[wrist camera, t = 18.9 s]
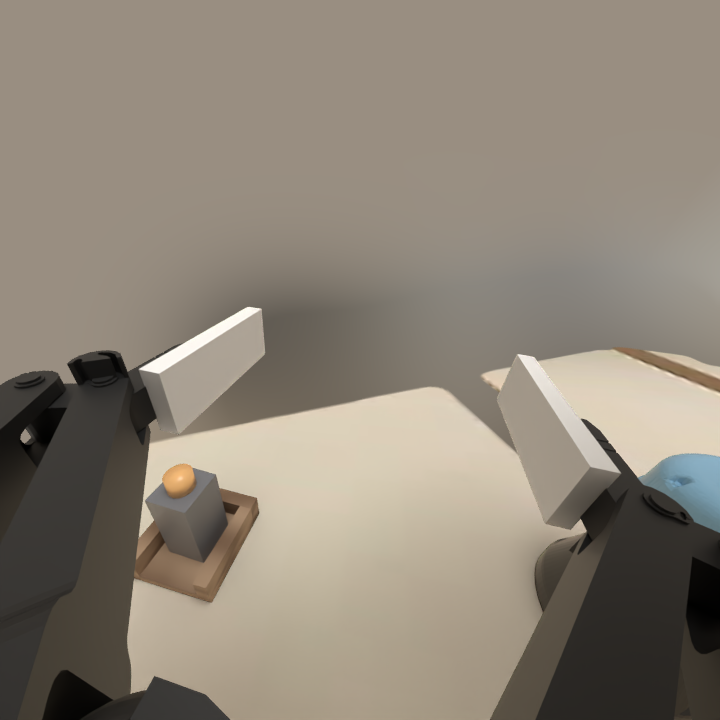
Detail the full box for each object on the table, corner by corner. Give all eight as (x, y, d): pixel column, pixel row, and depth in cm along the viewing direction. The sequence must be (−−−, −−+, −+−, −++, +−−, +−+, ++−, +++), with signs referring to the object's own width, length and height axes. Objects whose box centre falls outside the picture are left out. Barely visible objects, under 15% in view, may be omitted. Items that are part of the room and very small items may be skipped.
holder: (211, 602, 29) (205, 588, 28) (130, 576, 30) (119, 561, 29) (259, 513, 38) (256, 498, 36) (194, 495, 39) (188, 480, 37)
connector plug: (203, 563, 31) (180, 500, 25) (169, 551, 32) (138, 488, 26) (228, 524, 35) (212, 462, 29) (197, 514, 36) (175, 452, 30)
